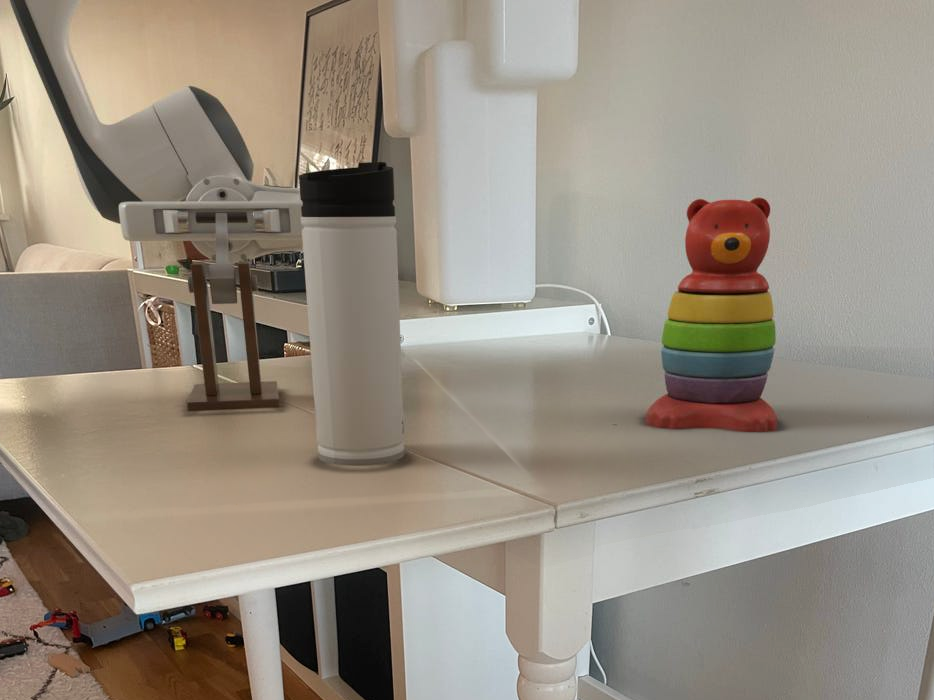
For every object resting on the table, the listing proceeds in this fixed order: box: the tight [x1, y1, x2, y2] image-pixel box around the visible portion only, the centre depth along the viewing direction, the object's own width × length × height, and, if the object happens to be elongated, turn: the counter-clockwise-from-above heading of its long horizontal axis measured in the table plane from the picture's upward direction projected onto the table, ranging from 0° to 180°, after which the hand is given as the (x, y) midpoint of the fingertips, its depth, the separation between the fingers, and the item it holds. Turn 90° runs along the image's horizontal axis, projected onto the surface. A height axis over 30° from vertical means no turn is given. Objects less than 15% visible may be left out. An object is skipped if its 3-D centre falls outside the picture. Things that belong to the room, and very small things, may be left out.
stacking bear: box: [645, 197, 778, 433], centre depth 81 cm, size 11×10×18 cm
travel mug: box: [298, 161, 405, 467], centre depth 67 cm, size 6×7×20 cm
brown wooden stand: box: [186, 260, 280, 412], centre depth 89 cm, size 10×8×13 cm
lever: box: [195, 211, 248, 305], centre depth 92 cm, size 16×5×2 cm, turn 12°
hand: (221, 221), depth 94 cm, fingers open, 6 cm apart
